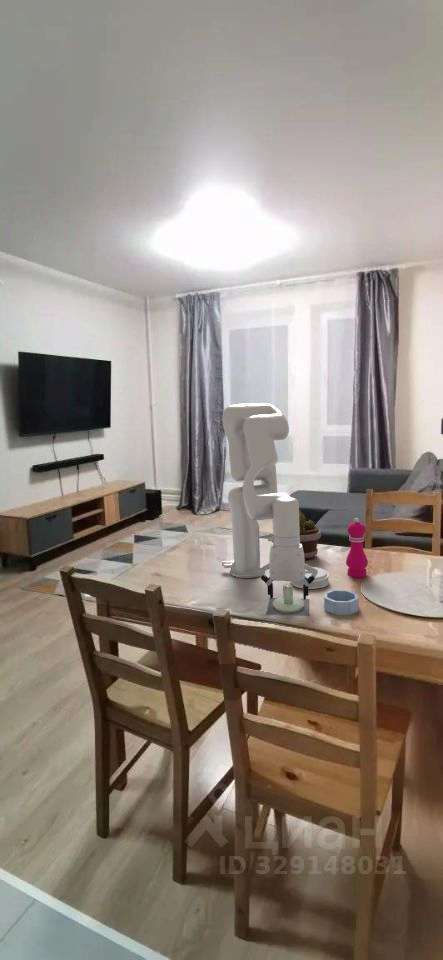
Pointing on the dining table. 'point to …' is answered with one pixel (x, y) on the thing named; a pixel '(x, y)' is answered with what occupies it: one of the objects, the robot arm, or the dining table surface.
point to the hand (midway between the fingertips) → (288, 597)
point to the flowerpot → (308, 537)
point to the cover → (288, 601)
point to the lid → (318, 582)
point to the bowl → (341, 602)
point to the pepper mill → (356, 550)
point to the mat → (274, 612)
